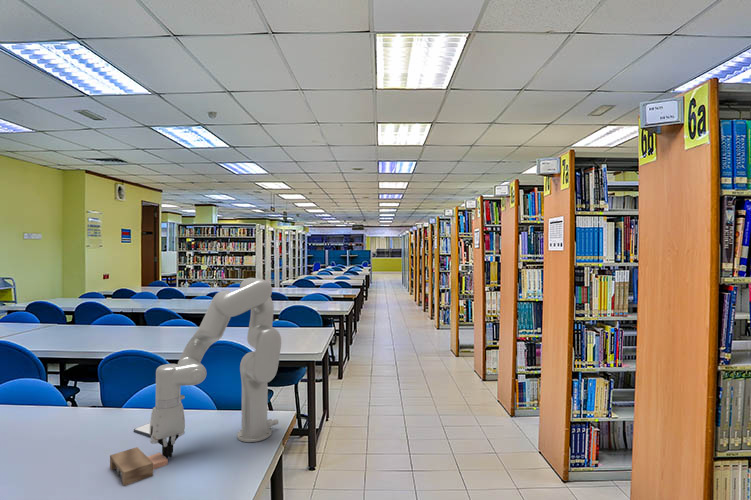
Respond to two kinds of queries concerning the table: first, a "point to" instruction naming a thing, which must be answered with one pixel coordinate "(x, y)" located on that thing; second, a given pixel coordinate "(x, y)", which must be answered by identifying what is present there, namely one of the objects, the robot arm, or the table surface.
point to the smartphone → (143, 430)
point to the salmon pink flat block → (158, 460)
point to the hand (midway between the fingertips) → (167, 456)
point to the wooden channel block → (131, 465)
